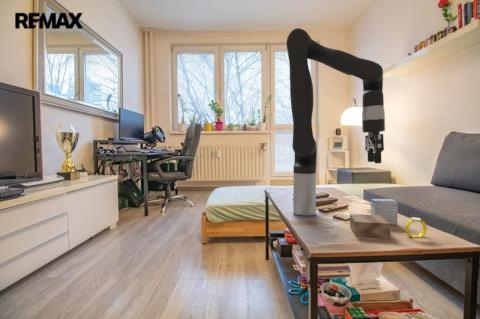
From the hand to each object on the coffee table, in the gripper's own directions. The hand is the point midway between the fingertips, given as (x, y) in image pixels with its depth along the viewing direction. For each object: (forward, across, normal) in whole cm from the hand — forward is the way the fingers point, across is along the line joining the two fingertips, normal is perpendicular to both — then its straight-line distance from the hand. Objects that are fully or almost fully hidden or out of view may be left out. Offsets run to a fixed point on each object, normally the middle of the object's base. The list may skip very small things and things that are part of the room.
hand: (374, 162), depth 102 cm
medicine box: (+22, +2, +2) cm, 23 cm away
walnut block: (+22, +14, -6) cm, 27 cm away
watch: (+23, +16, +7) cm, 29 cm away
